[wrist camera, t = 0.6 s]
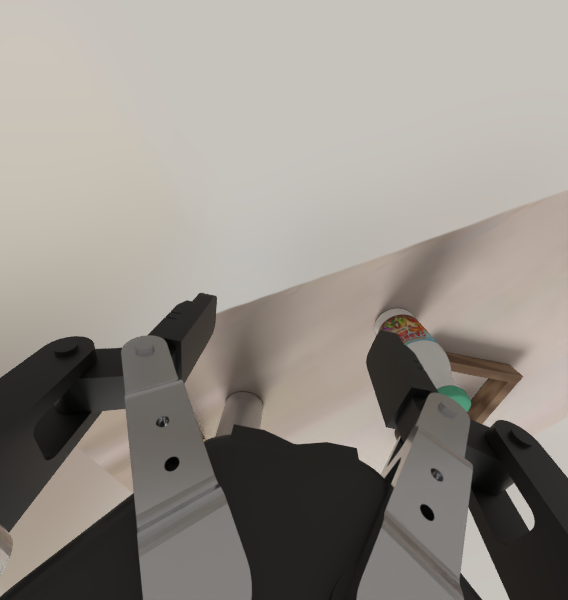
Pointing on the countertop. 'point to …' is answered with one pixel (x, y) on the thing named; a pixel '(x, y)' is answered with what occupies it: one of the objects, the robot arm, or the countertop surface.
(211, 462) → the robot arm
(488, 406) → the display frame
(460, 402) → the milk bottle
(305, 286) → the countertop surface
